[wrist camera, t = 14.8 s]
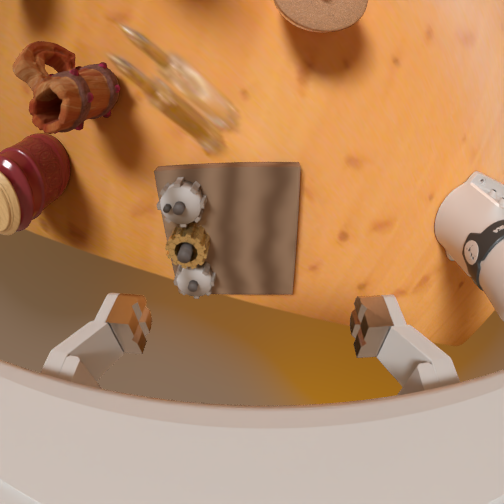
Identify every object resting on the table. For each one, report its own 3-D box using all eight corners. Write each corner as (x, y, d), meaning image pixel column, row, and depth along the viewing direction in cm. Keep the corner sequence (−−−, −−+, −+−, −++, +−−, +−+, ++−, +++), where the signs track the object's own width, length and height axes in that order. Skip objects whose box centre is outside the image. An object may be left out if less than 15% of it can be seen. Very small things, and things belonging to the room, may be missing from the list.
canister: (84, 181, 44) (23, 239, 30) (41, 206, 47) (-13, 261, 33) (52, 117, 37) (-22, 155, 23) (12, 151, 40) (-51, 195, 26)
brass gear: (208, 221, 46) (204, 233, 43) (212, 255, 50) (209, 269, 47) (168, 222, 47) (162, 234, 44) (174, 255, 50) (169, 268, 47)
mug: (138, 98, 37) (84, 120, 24) (98, 127, 39) (41, 161, 27) (95, 25, 29) (30, 24, 17) (58, 59, 32) (-8, 72, 19)
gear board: (299, 162, 42) (304, 180, 36) (291, 287, 56) (294, 314, 50) (158, 166, 43) (142, 184, 37) (181, 285, 57) (173, 312, 51)
